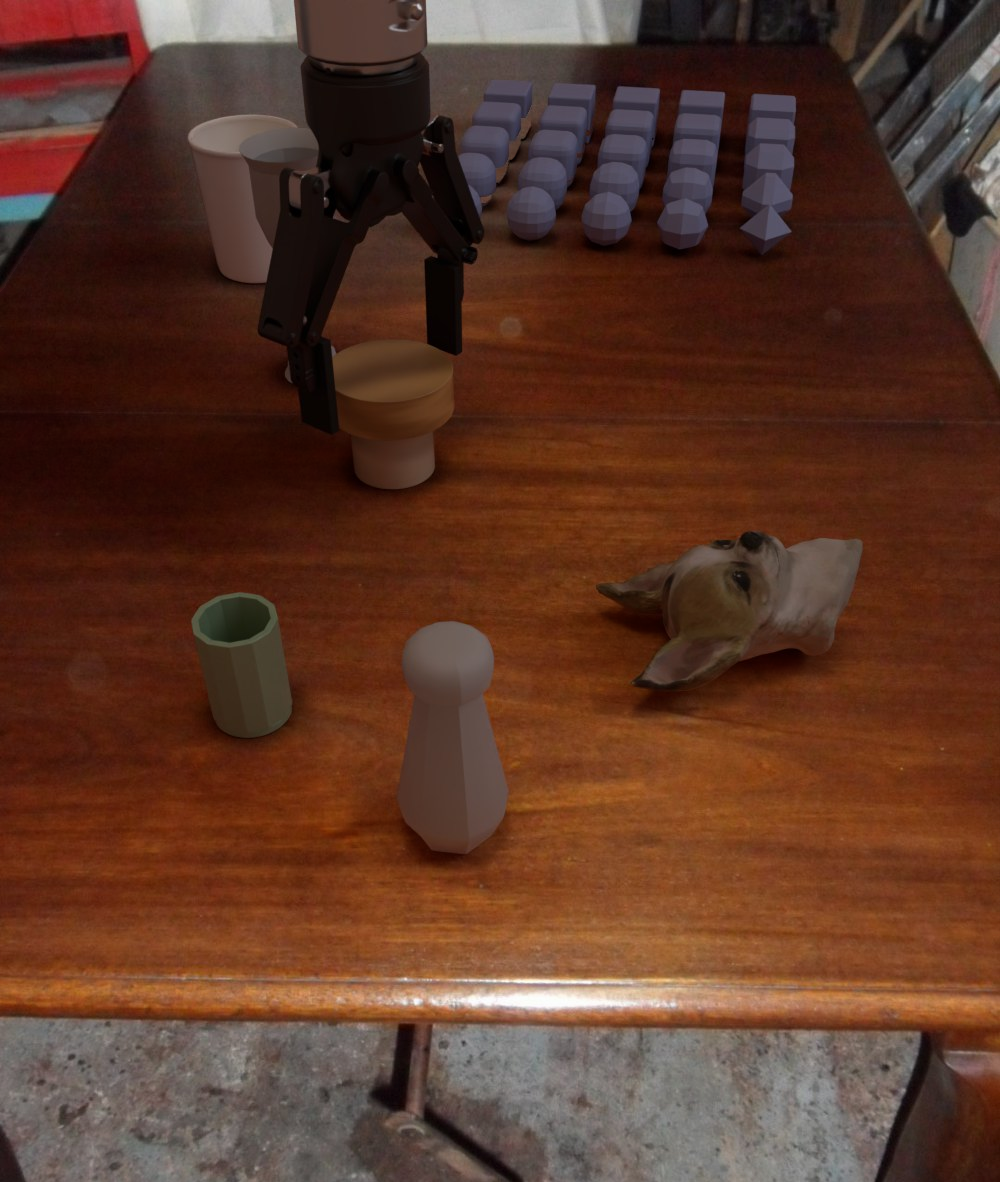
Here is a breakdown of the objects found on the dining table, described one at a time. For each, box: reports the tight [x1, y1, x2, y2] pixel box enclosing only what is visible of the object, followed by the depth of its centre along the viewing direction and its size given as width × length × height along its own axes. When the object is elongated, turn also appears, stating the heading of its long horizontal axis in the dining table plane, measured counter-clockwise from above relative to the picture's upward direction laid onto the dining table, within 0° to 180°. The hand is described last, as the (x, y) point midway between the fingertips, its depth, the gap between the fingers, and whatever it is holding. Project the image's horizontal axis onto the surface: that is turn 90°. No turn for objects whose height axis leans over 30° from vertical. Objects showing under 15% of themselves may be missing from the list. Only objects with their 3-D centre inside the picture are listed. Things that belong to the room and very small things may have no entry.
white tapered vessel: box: [187, 114, 299, 284], centre depth 109 cm, size 10×10×12 cm
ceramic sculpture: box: [595, 530, 864, 692], centre depth 71 cm, size 11×9×15 cm
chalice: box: [239, 127, 338, 384], centre depth 93 cm, size 7×7×18 cm
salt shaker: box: [395, 620, 510, 855], centre depth 59 cm, size 6×6×13 cm
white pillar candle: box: [350, 431, 436, 490], centre depth 87 cm, size 6×6×5 cm
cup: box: [190, 591, 293, 739], centre depth 67 cm, size 5×5×7 cm
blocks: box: [458, 78, 797, 256], centre depth 126 cm, size 35×34×5 cm
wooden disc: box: [332, 338, 455, 441], centre depth 84 cm, size 9×9×3 cm
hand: (385, 386), depth 84 cm, fingers open, 13 cm apart
